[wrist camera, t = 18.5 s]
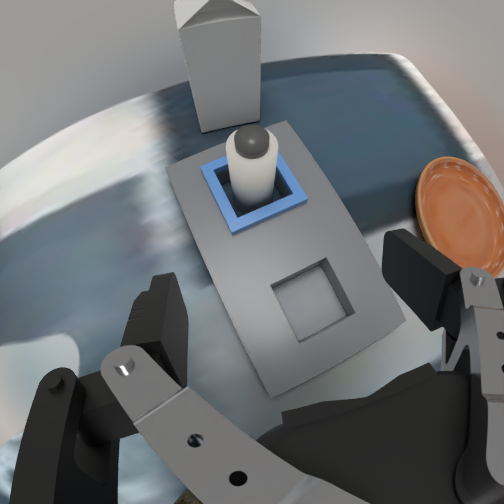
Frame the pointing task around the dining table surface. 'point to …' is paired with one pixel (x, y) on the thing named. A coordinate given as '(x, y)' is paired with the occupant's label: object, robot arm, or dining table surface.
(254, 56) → the milk carton
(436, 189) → the saucer
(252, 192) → the capped white bottle
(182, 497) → the cup
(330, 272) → the block with square holes
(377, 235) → the dining table surface
